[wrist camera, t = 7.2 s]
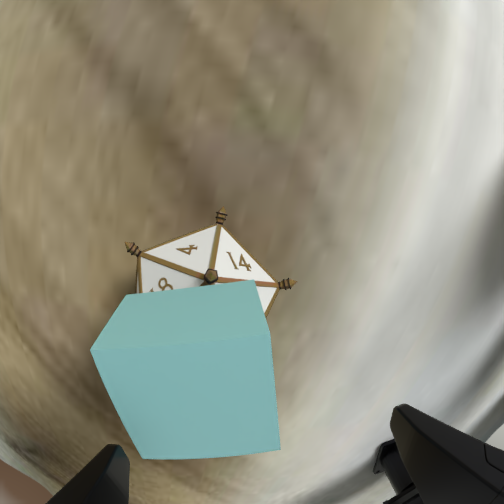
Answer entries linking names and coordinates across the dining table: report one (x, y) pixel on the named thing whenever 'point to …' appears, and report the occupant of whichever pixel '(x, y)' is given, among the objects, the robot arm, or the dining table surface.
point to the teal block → (192, 372)
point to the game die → (203, 263)
